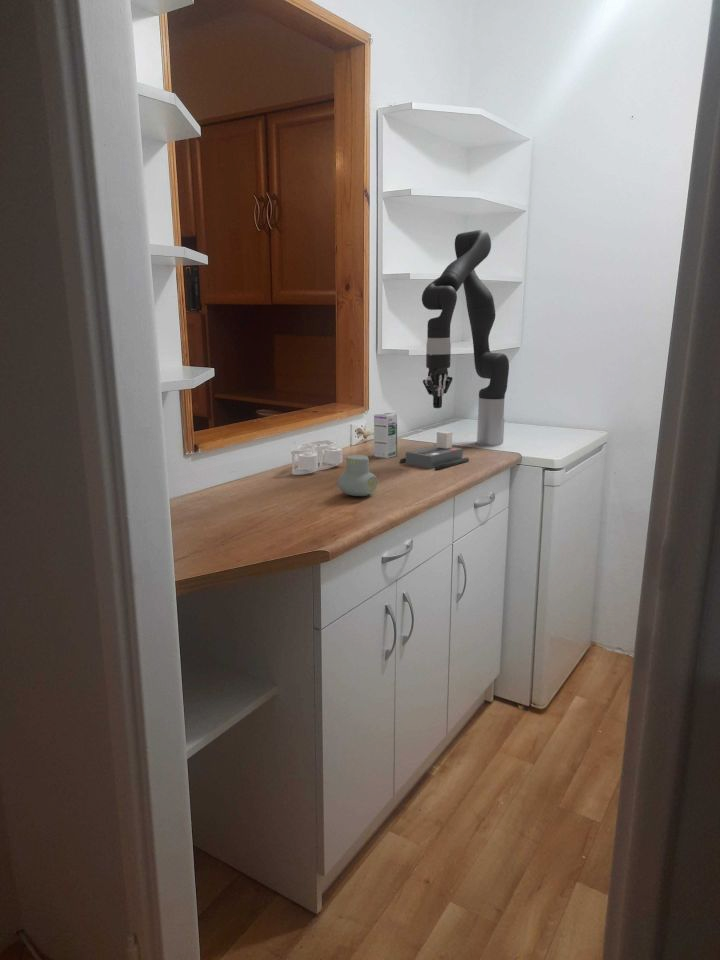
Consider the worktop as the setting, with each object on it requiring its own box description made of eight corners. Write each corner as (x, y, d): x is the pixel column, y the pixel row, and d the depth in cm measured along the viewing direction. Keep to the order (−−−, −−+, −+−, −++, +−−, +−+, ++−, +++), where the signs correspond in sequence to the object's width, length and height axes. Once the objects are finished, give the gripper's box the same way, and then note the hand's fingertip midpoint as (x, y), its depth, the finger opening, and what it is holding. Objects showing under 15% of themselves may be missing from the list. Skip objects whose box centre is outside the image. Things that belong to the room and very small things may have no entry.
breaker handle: (441, 445, 224) (442, 430, 223) (451, 447, 221) (452, 432, 220) (436, 447, 222) (436, 432, 221) (446, 448, 219) (446, 433, 218)
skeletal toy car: (304, 477, 200) (304, 452, 198) (279, 471, 207) (278, 447, 205) (349, 466, 215) (349, 443, 213) (324, 461, 222) (324, 439, 220)
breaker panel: (437, 456, 228) (438, 444, 227) (462, 460, 222) (462, 448, 221) (405, 464, 216) (405, 451, 215) (430, 469, 210) (430, 456, 209)
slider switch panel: (431, 455, 230) (431, 451, 230) (469, 461, 220) (469, 457, 220) (398, 463, 218) (398, 458, 218) (437, 470, 208) (437, 466, 207)
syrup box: (387, 458, 225) (388, 415, 221) (373, 456, 228) (373, 413, 225) (397, 456, 229) (398, 413, 226) (383, 453, 233) (383, 411, 229)
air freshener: (353, 487, 188) (353, 452, 185) (380, 491, 184) (380, 454, 181) (334, 496, 178) (333, 459, 176) (361, 500, 174) (362, 462, 172)
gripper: (441, 351, 218) (440, 404, 222) (415, 353, 209) (415, 409, 213) (460, 351, 213) (459, 406, 217) (435, 354, 204) (434, 411, 208)
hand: (437, 407), depth 215 cm, fingers closed
